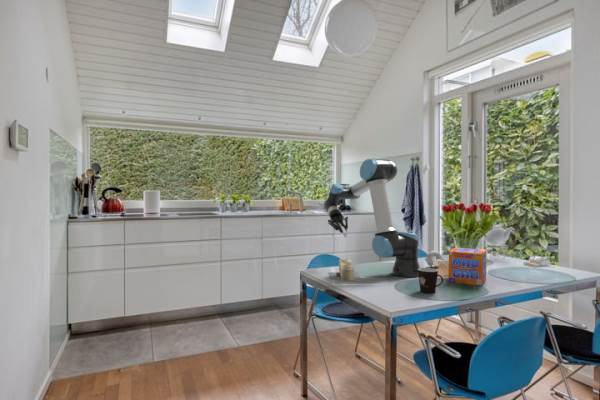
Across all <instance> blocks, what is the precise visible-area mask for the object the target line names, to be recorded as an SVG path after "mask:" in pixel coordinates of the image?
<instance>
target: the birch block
mask: <svg viewBox="0 0 600 400" xmlns="http://www.w3.org/2000/svg"><path fill="white" fill-rule="evenodd" d="M354 268H355V267H354V265H353V263H352V260H351V259H350V258H349V259H345V258H343V259H338V272H340V276H341V279H340V280H341V281H354V280H355V279H354V272H355V269H354Z"/></svg>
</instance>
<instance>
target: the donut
mask: <svg viewBox="0 0 600 400" xmlns="http://www.w3.org/2000/svg"><path fill="white" fill-rule="evenodd" d="M433 257H435V261H436V260H437V259H442V260H443V256H442V254H441V253H440V252H439V251H437V250H431V251H429V252H428V253H427V255H426V257H425V260H426V264H427V265H428V266H429V267H431V268H433V267H432V265H433V262H434V261H433Z"/></svg>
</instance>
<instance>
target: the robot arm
mask: <svg viewBox="0 0 600 400" xmlns="http://www.w3.org/2000/svg"><path fill="white" fill-rule="evenodd" d="M397 173H398V167H397V165H396V163H394V162H393V160H390V159H382V158H381V159H379V158H367V159H365V160H364V161H363V162H362V163H361V165H360V168H359V176H360V178H361V180H360V181H359V182H356V183H355V184H353V185H352V186H350V187H344V186H343V185H342V184H339V183H332V185H331V186H330V189H329V193H328V197H327V198H326V199H325V200H324V202H323V206H324V208H325V210H326V212H327V214H328V216H329V219H327V224H328V225H330V226H331V227H332V228H333V230H335V231H338V232H339V233H340V234H342V235H343V237H344V238H346V237H348V231H347V230H348V228H349V223H348V222H349V217H348V216H346V217H345V216H344V215H343V214H342V212H341V211H340V209H339V207H338V206H339V205H338V204H339V203H340V200H358V199H359V198H360V197H361V195H363V194H364V193H366V192H368V191H369V192H370V198H371V204H372V208H373V210H372V211H373V215H374V220H375V227H376V231H375V232H374V238H372V242H371V248H372V251H373V252H374V254H375V255H376V256H378V257H379V258H382V259H390V258H395V260H394V263H393V266H392V270H391V272H392V273H391V274H392V275H393V276H397V277H403V278H417V277H418V278H419V275H418V269H419V268H421V266H420V264H419V261H418V260H419V259H418V258H419V257H418V256H419V237H418V236H419V235H417V233H414V232H407V231H405V232H404V231H397V229H395V228H394V224H393V219H392V214H391V208H390V202H389V198H388V197H389V196H388V192H387V186H386V184H387V183H388V182H390V181H392V180H393V179H394V178H396V176H397Z"/></svg>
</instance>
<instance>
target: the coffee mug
mask: <svg viewBox="0 0 600 400" xmlns="http://www.w3.org/2000/svg"><path fill="white" fill-rule="evenodd" d="M418 275H419V276H418V282H419V283H418V284H419V289H420V290H419V291H420V293H422V294H427V295H428V294H429V295H432V294H433V295H434V294H435V293H436V289H437V288H438V287H439V286H441V285H442V284H443V283H444V277H443V276H442V275H440V274H439V270H438V269H437V268H434V267H431V268H430V267H420V268H419V269H418ZM438 277H440V279H441V282H440V283H439V284H438V283H437V282H438Z"/></svg>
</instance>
